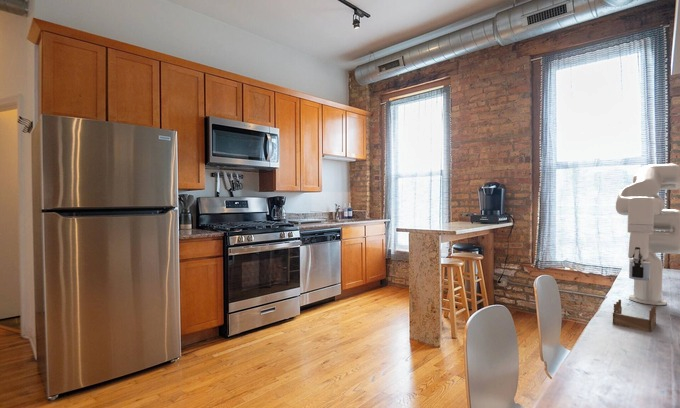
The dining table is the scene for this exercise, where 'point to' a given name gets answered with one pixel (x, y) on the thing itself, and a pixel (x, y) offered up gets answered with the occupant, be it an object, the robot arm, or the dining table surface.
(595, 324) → the dining table surface
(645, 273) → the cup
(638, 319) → the rack
